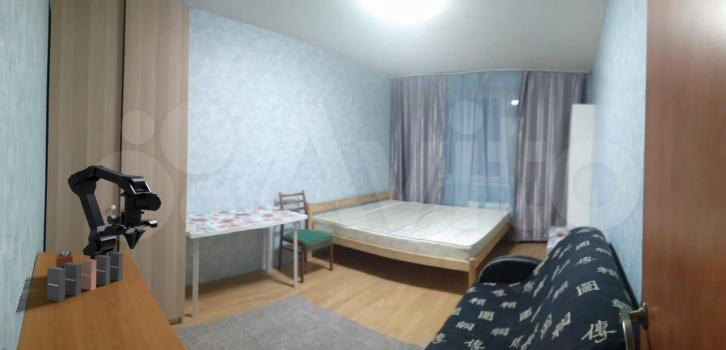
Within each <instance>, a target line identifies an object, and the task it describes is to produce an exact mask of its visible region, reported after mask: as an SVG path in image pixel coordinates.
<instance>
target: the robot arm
mask: <svg viewBox="0 0 726 350" xmlns="http://www.w3.org/2000/svg"><path fill="white" fill-rule="evenodd" d="M101 179H102V180H104V181H107V182H109V183H113V184H116V185H117V187H118V188H119V189H120V190H122V191H123V192H122V193H120V194H119V197H124V201H123V203H124V204H123V211H120V215H118V216H116V215H115V214H110V215H107V217H106V222H107V225H108V226H106V224H105V221H104V218H103V214H102V211H101V209H100V205H99V203H98V200H97V197H96V194H95V193H96V190H97V182H99V181H100V180H101ZM67 184H68V187H69V188H70V191H71V192H72V193H74V194H75V195H76V196H77V197H78V198H79V201H80V204H81V207H82V209H83V212H84V215H85V218H86V222H87V224H88V228H89V229H90V231H89V234H88V238H87V240H88V243H87V244H86V246H85V247H84V248H83V249H82V253H83V255H84V256H87V257H89V259H93V260H95V256H96V255H105V256H108V252H111V251H113V252H114V251H115V248H116V244H117V236H123V237H124V238H125V241H126V243H127V245H128V247H129V249H130V250H134V249H135V248H136V246H137V244H138V243H139V241H140V239H141V237H142V236H143V234H144V233H146V232H147V230H146V229H144V227H149V228H151V229H155V228H158V221H157V220H156V219H149V218H148V219H147V218H145V219H142V216H143V215H145V211H148V212H150V211H152V212H157V211H158V210H160V208H161V206H162V201H161V198H160V197H159V196H158V193H157V192H152V190H151V189H150V187H149V185H148V183H147V182H146V180H145V177H143V176H142V175H135V174H125V173H123V172H119V171H117V170H113V169H111V168H107V167H105V166H103V165H99V164H98V165H97V164H96V165H94V164H91V165H90V166H87V167H85V168H84V169H82V170H78V171H76V172H75V173H72V174H70V176H69V177H68V179H67Z"/></svg>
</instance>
